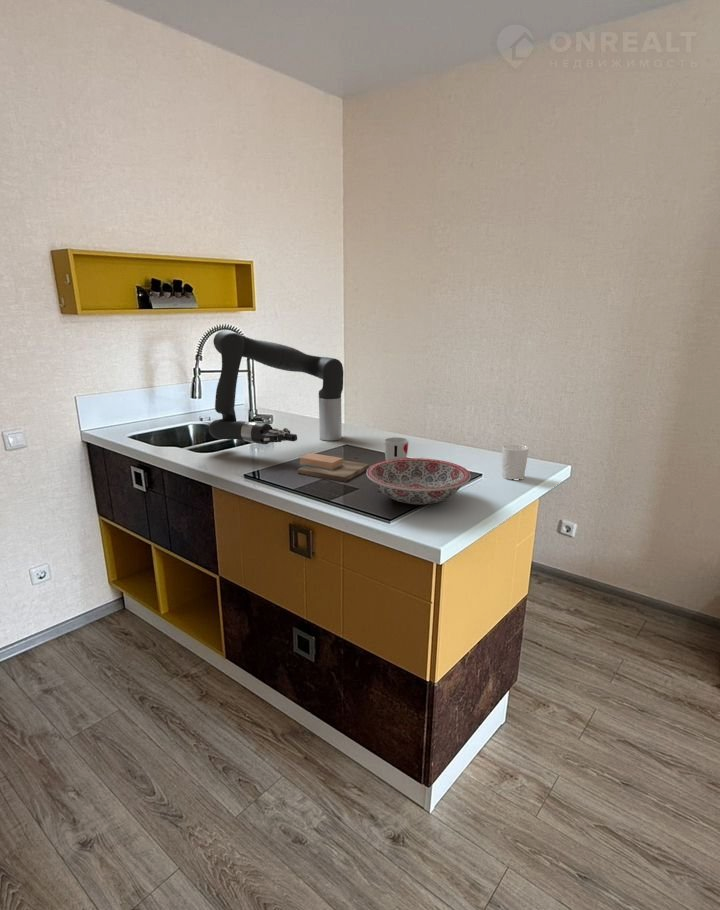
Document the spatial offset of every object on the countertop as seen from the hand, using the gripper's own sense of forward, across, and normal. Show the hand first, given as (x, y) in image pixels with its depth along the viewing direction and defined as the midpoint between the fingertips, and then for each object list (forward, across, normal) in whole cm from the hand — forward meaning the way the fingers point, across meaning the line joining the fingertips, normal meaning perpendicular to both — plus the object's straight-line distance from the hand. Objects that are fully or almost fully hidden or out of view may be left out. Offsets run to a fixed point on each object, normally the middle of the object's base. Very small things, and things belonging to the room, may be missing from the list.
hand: (295, 438), depth 180 cm
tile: (+4, 0, +7) cm, 8 cm away
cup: (+32, +12, +10) cm, 36 cm away
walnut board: (+16, 0, +10) cm, 18 cm away
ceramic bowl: (+50, -11, +10) cm, 53 cm away
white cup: (+69, +22, +11) cm, 73 cm away
